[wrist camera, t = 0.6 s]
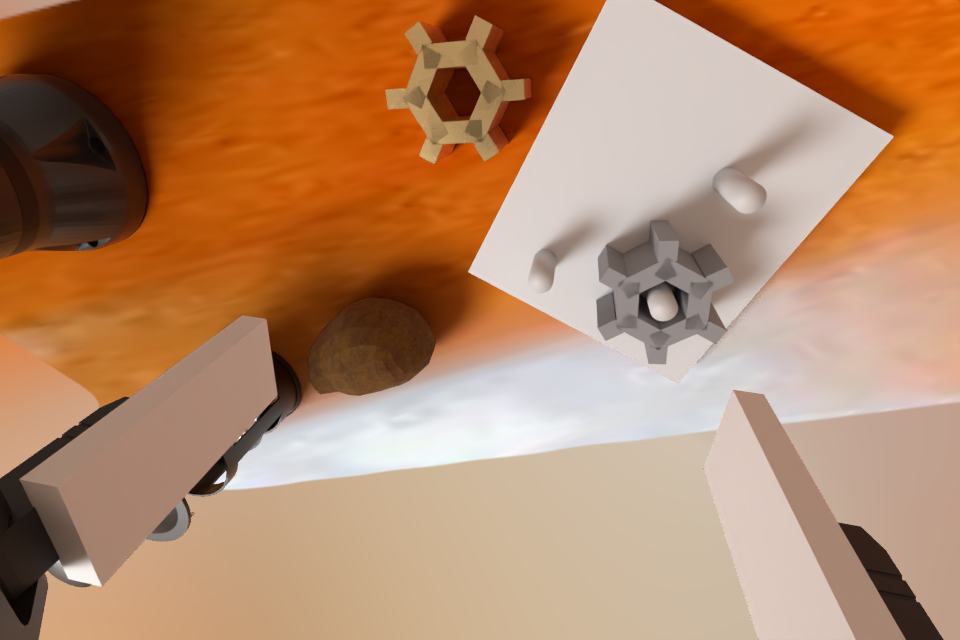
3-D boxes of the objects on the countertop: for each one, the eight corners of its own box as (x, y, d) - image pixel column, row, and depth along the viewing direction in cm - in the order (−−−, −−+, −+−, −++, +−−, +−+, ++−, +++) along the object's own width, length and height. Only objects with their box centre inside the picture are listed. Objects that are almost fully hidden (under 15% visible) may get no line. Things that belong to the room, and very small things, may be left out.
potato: (312, 292, 47) (259, 335, 39) (429, 275, 44) (396, 318, 36) (341, 368, 50) (297, 421, 43) (451, 357, 47) (425, 412, 39)
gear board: (472, 263, 42) (452, 298, 36) (615, -16, 32) (623, -39, 25) (674, 370, 43) (690, 424, 37) (877, 133, 33) (951, 148, 26)
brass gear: (417, 155, 39) (396, 165, 35) (402, 31, 35) (376, 25, 31) (533, 149, 37) (526, 159, 33) (529, 18, 34) (521, 9, 29)
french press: (300, 349, 50) (107, 535, 30) (313, 423, 54) (151, 629, 34) (197, 337, 52) (-49, 504, 32) (217, 409, 56) (11, 598, 36)
